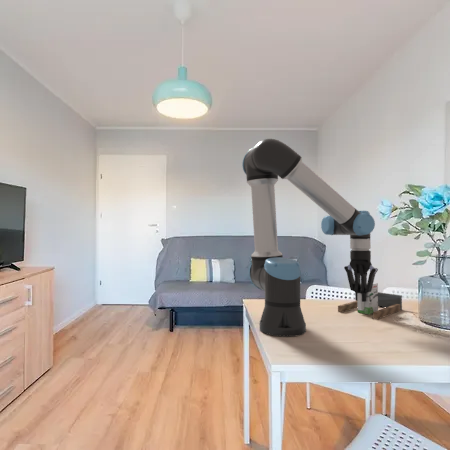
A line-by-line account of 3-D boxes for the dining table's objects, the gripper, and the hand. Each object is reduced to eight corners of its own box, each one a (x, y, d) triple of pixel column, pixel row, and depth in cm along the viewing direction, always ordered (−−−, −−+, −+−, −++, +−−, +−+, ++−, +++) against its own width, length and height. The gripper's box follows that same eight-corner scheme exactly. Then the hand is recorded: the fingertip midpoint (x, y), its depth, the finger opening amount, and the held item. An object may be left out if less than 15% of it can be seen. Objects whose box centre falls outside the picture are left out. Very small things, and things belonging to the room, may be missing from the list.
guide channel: (377, 319, 125) (376, 303, 125) (338, 311, 137) (337, 297, 137) (401, 309, 141) (401, 295, 141) (365, 303, 153) (364, 290, 153)
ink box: (368, 314, 132) (368, 284, 132) (356, 312, 136) (356, 283, 136) (378, 311, 138) (378, 282, 138) (366, 309, 142) (366, 281, 142)
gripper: (381, 250, 131) (381, 310, 131) (349, 248, 141) (350, 305, 140) (372, 250, 126) (373, 314, 126) (340, 249, 136) (340, 308, 135)
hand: (361, 309), depth 133 cm, fingers closed
